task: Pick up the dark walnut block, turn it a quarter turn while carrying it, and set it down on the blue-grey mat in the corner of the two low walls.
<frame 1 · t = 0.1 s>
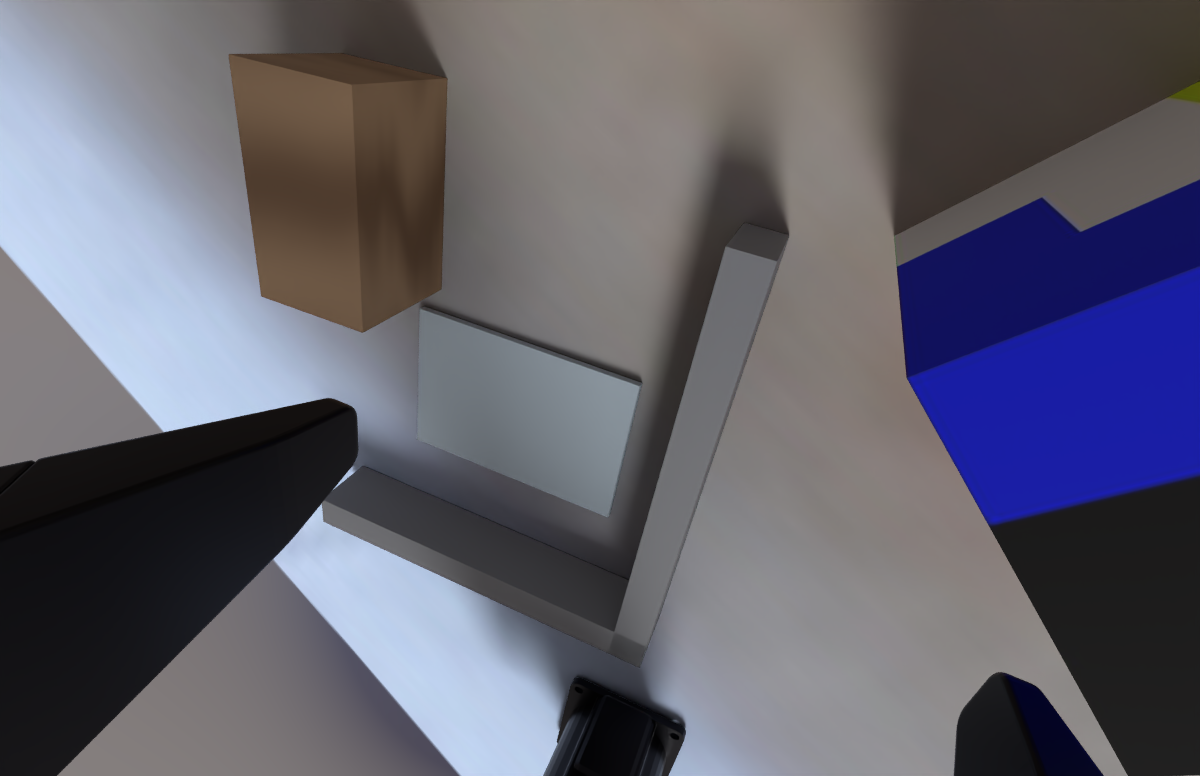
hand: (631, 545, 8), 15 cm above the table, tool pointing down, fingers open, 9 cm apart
walnut block: (396, 178, 25), on the table
puzzle toy: (1156, 296, 17), on the table
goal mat: (519, 412, 27), on the table
grey angle bracket: (659, 617, 30), on the table
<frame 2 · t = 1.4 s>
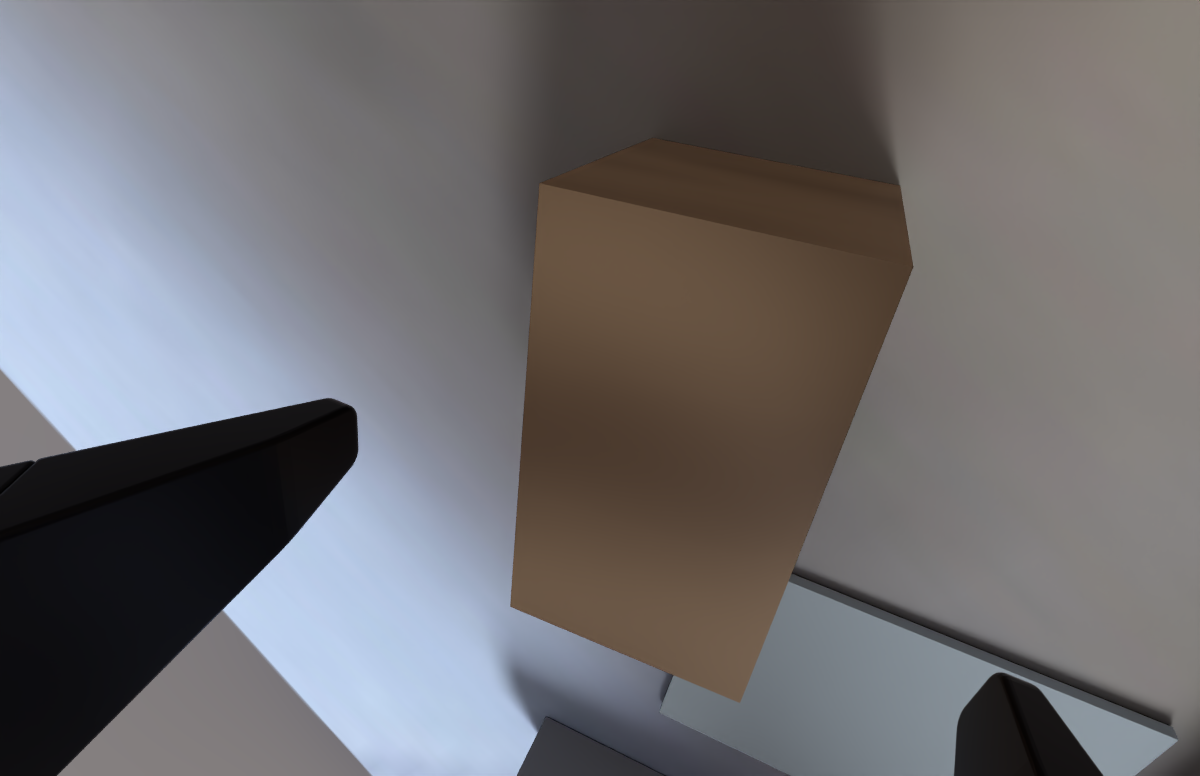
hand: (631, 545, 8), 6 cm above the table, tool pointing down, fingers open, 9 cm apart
walnut block: (722, 351, 14), on the table
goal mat: (871, 713, 16), on the table
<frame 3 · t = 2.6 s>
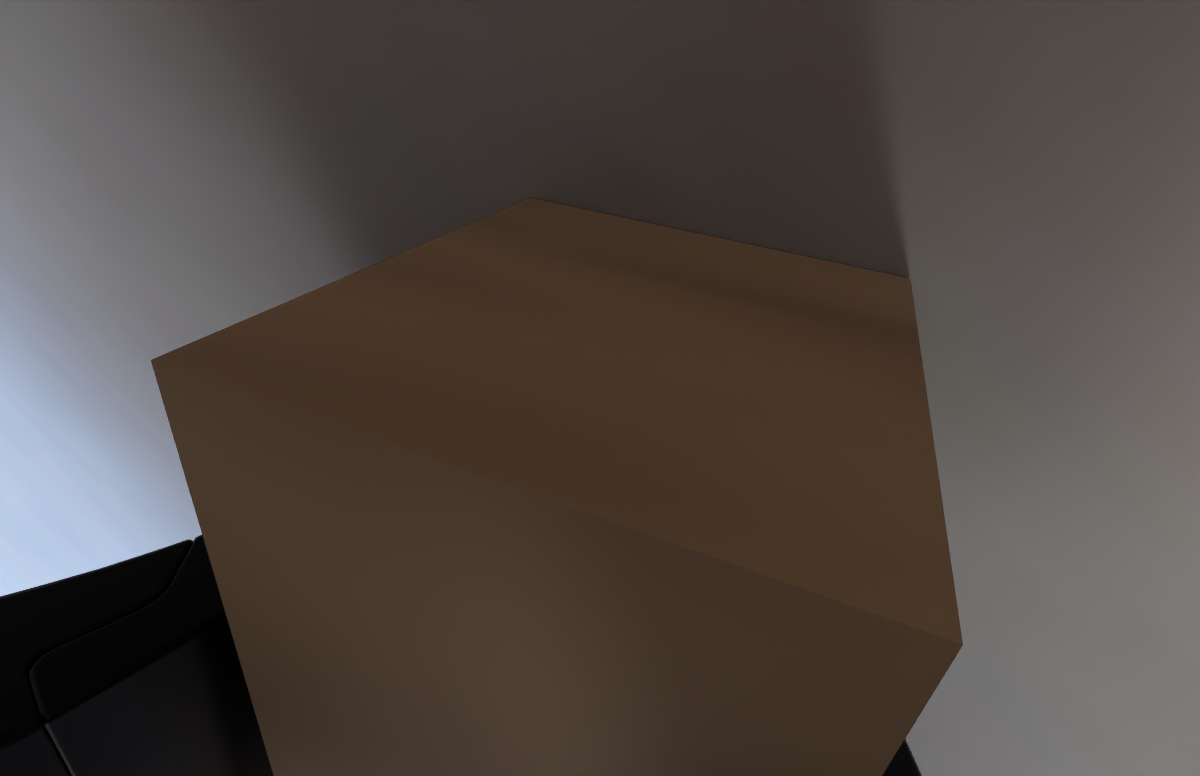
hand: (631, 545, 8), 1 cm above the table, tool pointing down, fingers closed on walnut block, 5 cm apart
walnut block: (653, 499, 9), on the table, touching gripper
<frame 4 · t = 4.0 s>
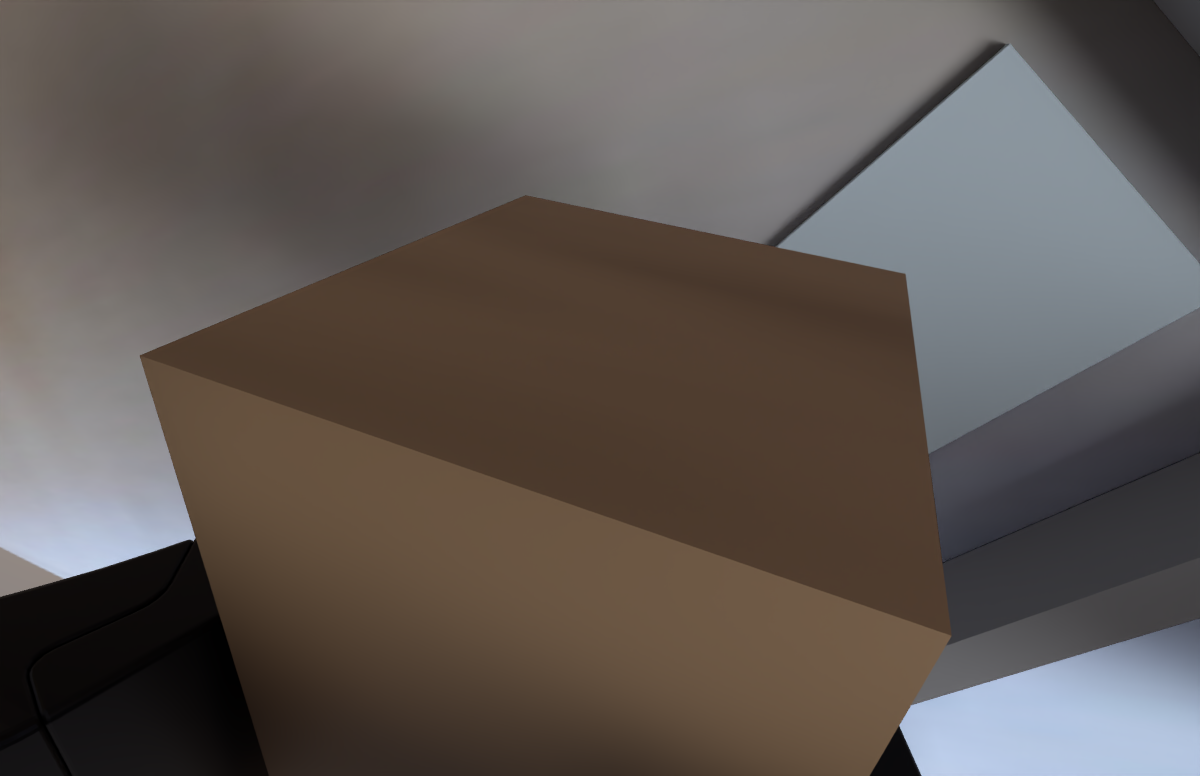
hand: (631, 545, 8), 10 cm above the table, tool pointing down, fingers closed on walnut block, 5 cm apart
walnut block: (650, 497, 9), point 9 cm above the table, touching gripper
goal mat: (902, 316, 16), on the table
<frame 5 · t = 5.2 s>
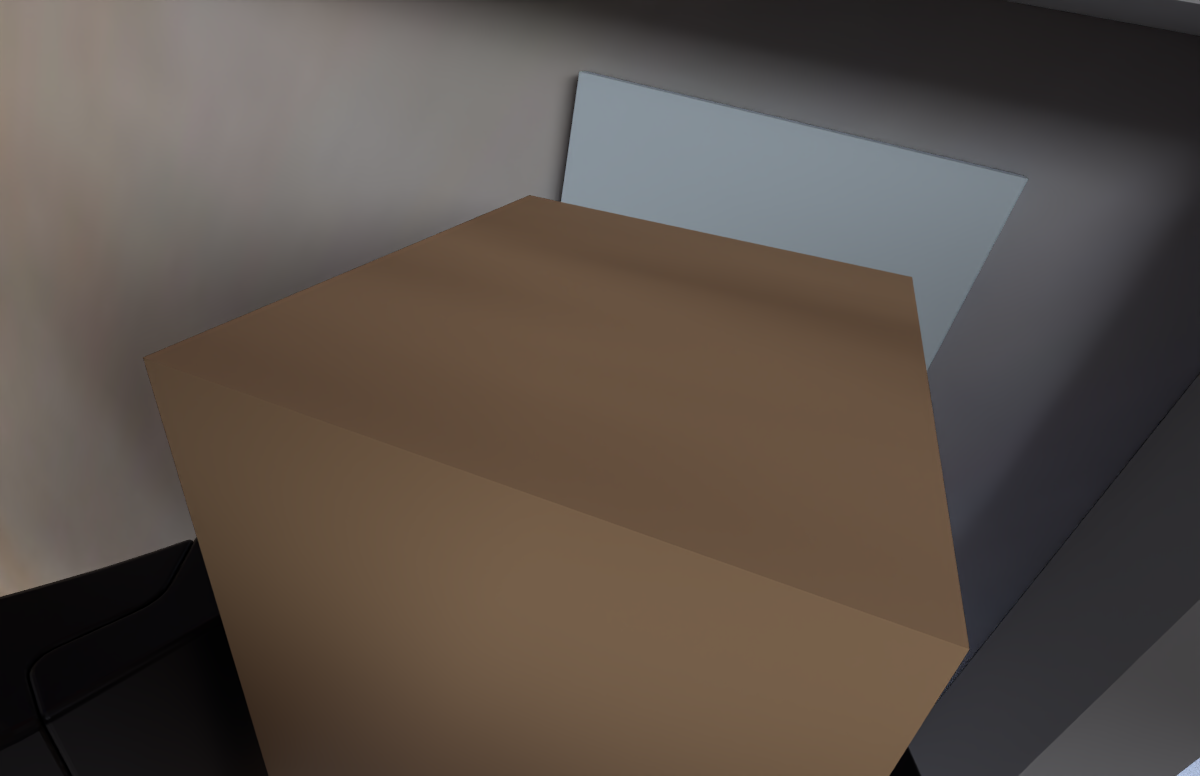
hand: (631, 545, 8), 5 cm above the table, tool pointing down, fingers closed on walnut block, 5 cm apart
walnut block: (652, 499, 9), point 4 cm above the table, touching gripper
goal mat: (705, 383, 13), on the table
when the fingers open (3 cm above the table, at t = 5.9 s): walnut block drops 1 cm, resting on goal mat.
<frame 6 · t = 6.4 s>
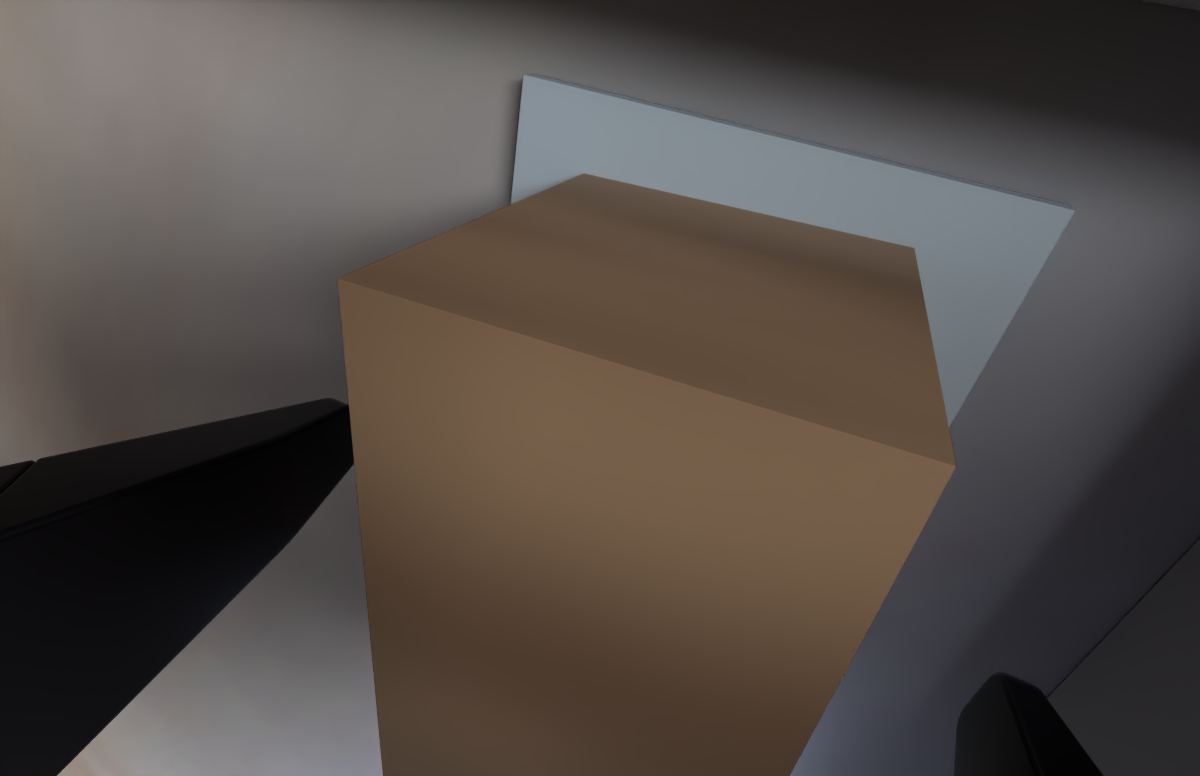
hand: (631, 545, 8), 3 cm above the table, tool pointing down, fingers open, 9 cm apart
walnut block: (679, 446, 10), resting on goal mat
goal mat: (681, 438, 11), on the table
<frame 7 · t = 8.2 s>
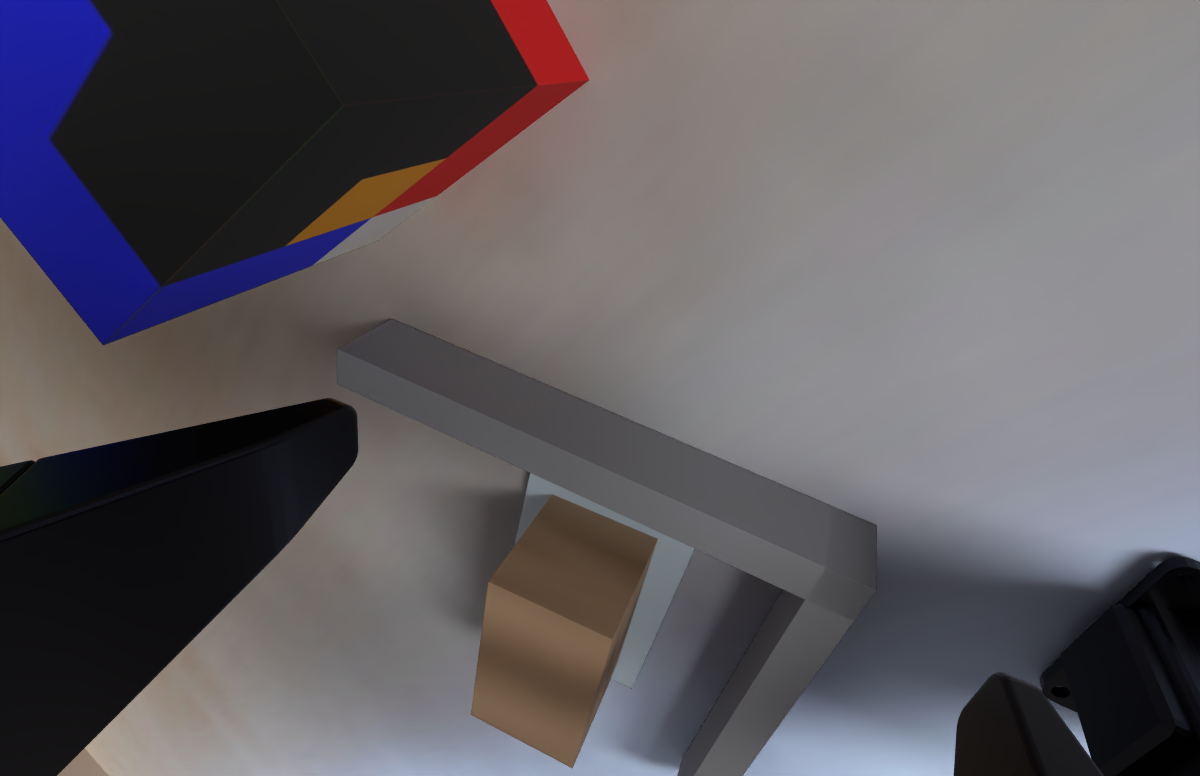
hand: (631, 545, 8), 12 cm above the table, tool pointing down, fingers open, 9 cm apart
walnut block: (586, 584, 27), resting on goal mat
puzzle toy: (385, 22, 19), on the table
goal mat: (588, 579, 27), on the table
grey angle bracket: (876, 525, 21), on the table
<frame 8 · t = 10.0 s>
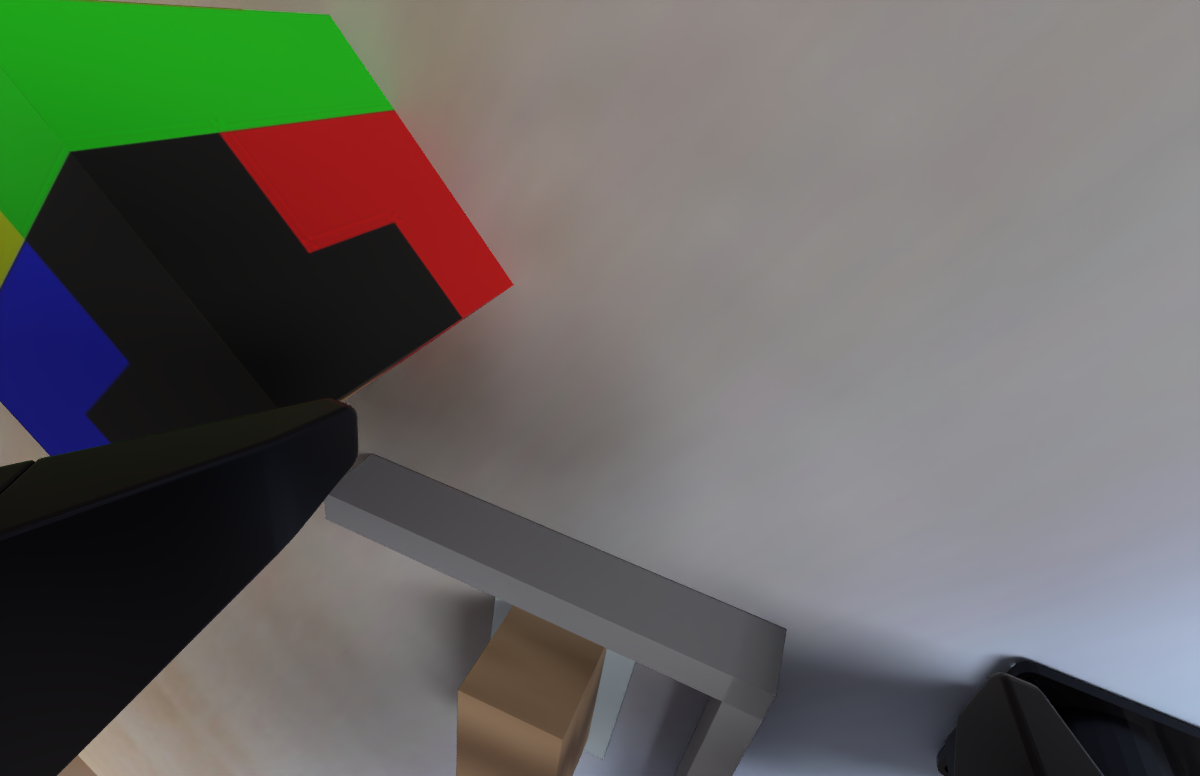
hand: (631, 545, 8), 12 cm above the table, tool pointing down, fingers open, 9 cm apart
walnut block: (554, 671, 30), resting on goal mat
puzzle toy: (349, 232, 23), on the table
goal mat: (556, 666, 30), on the table
grey angle bracket: (786, 629, 24), on the table
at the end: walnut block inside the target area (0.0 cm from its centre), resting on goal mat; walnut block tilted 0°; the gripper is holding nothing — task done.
